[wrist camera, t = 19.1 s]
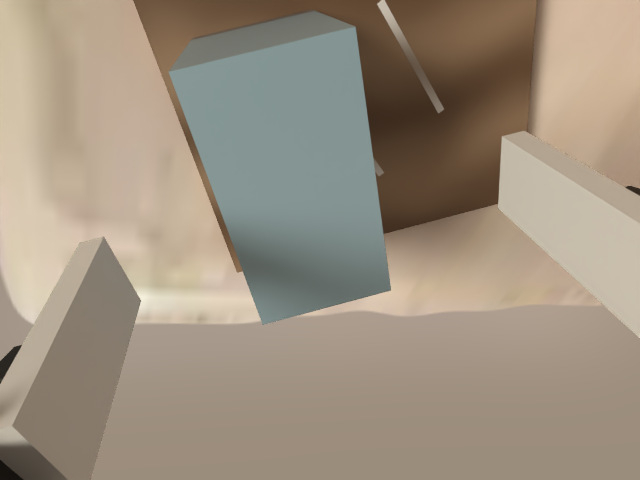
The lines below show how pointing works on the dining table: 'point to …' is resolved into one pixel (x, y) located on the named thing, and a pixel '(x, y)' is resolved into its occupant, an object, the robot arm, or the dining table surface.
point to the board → (399, 89)
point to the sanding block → (289, 158)
